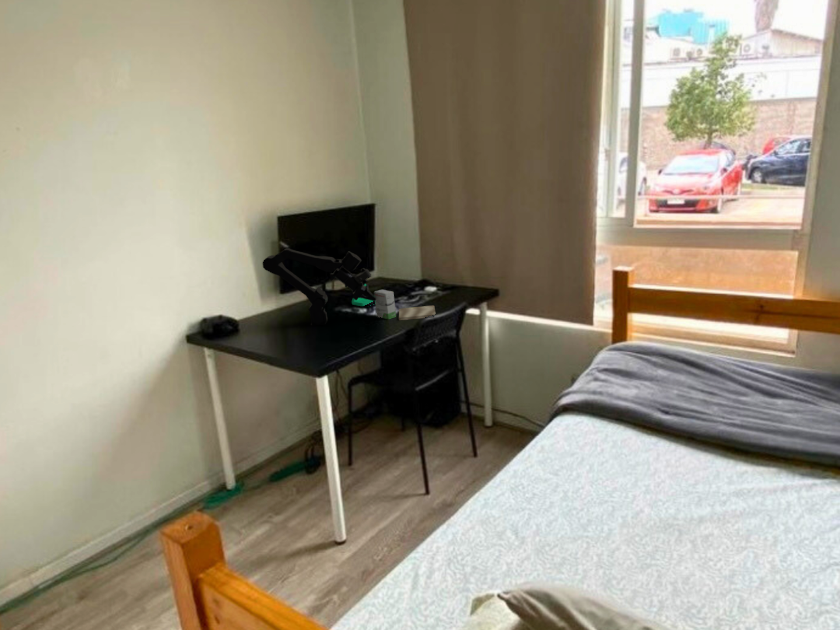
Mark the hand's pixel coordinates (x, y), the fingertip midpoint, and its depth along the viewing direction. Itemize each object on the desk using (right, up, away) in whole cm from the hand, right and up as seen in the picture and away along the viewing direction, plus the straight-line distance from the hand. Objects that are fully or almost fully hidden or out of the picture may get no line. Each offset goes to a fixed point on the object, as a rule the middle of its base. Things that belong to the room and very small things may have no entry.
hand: (375, 300), depth 248 cm
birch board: (+18, -6, +2) cm, 20 cm away
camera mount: (-6, -1, +27) cm, 28 cm away
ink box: (+5, -8, +3) cm, 9 cm away
